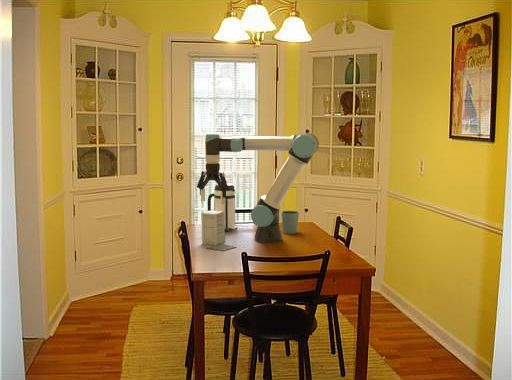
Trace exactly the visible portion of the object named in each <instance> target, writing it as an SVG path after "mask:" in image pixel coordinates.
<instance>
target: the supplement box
mask: <svg viewBox="0 0 512 380" xmlns="http://www.w3.org/2000/svg"><path fill="white" fill-rule="evenodd" d="M200 216H201V217H200V218H201V244H203V245H211V246H213V245H217V244H224V243H225V242H226V237H225V236H226V234H225V232H226V230H225V228H224V211H214V210H211V211H208V210H207V211H204V212H201V214H200Z"/></svg>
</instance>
